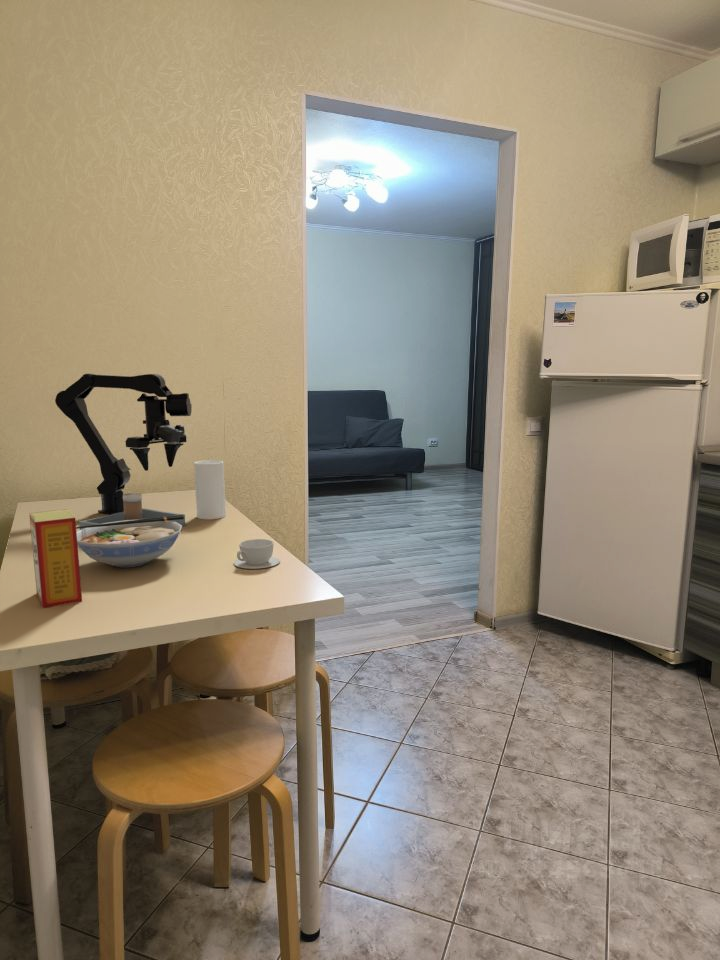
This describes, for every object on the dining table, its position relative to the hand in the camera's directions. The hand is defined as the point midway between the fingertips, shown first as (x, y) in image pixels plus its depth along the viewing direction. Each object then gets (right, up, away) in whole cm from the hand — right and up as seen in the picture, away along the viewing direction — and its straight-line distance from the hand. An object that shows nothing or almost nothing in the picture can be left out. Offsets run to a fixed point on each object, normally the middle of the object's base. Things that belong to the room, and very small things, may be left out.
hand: (158, 468), depth 197 cm
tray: (0, -17, -21) cm, 27 cm away
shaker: (0, -16, -21) cm, 26 cm away
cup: (+17, -14, -6) cm, 23 cm away
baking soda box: (+4, -26, -75) cm, 79 cm away
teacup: (+38, -22, -54) cm, 70 cm away
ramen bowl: (+10, -22, -53) cm, 58 cm away
